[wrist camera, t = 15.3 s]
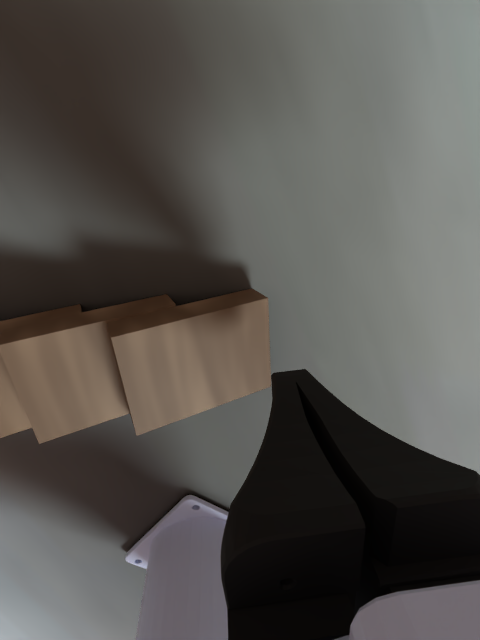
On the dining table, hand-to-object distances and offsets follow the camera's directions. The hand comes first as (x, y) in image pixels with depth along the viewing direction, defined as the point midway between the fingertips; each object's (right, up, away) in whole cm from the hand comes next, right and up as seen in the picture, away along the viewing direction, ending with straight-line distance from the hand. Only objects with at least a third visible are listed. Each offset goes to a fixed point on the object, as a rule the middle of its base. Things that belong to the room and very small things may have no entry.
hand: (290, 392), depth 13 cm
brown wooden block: (-1, +2, +4) cm, 5 cm away
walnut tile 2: (-5, +2, +4) cm, 7 cm away
